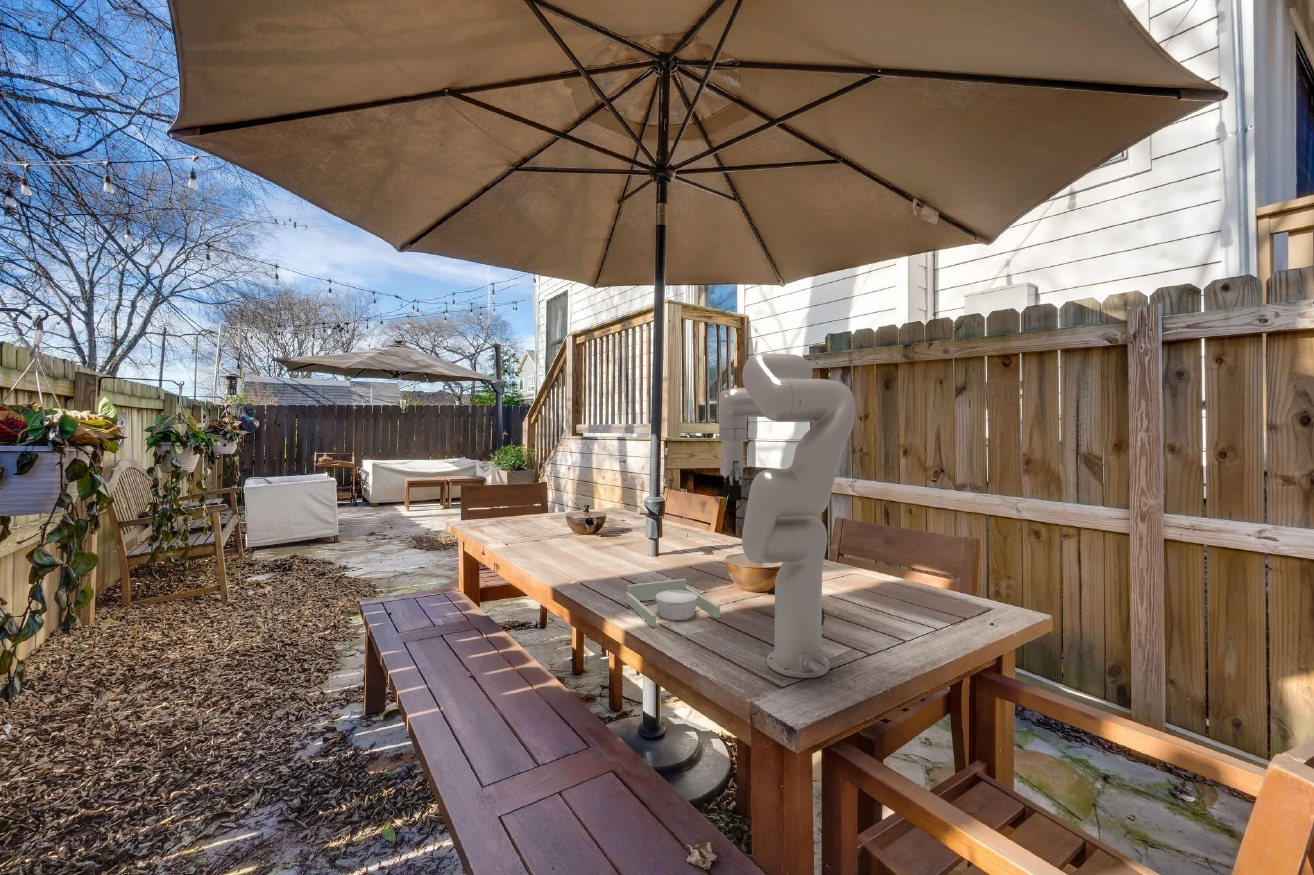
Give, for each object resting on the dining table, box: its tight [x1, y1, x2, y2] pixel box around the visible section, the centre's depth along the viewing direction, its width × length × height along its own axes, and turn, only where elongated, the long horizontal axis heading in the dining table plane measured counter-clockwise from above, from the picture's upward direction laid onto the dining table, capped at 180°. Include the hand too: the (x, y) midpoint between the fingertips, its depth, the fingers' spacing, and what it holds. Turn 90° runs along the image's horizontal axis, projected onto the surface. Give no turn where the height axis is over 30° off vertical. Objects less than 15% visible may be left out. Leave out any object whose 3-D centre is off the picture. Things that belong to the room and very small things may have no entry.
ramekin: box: [655, 590, 698, 621], centre depth 146 cm, size 11×11×5 cm
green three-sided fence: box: [625, 578, 721, 628], centre depth 150 cm, size 21×19×5 cm
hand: (732, 497), depth 150 cm, fingers open, 9 cm apart
